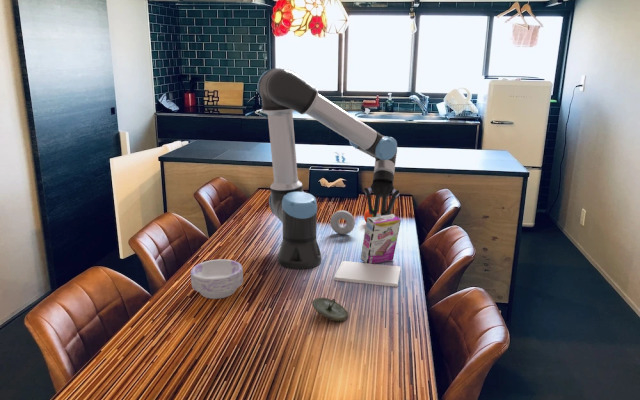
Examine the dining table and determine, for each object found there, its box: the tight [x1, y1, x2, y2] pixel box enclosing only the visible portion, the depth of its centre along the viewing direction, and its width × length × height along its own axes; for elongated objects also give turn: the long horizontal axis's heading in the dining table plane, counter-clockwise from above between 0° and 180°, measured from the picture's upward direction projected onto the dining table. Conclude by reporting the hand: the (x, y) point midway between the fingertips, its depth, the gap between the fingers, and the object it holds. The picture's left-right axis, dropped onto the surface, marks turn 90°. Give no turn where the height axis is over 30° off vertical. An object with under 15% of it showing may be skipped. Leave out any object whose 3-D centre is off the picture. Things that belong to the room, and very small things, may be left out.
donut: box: [329, 210, 356, 235], centre depth 203 cm, size 10×3×10 cm, turn 76°
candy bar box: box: [360, 213, 402, 264], centre depth 174 cm, size 11×5×16 cm, turn 118°
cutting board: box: [333, 260, 402, 288], centre depth 166 cm, size 14×20×1 cm
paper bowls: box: [190, 258, 244, 300], centre depth 151 cm, size 15×15×8 cm
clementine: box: [363, 208, 380, 223], centre depth 215 cm, size 8×7×7 cm
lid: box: [311, 297, 349, 322], centre depth 139 cm, size 11×10×5 cm
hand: (377, 231), depth 177 cm, fingers closed
